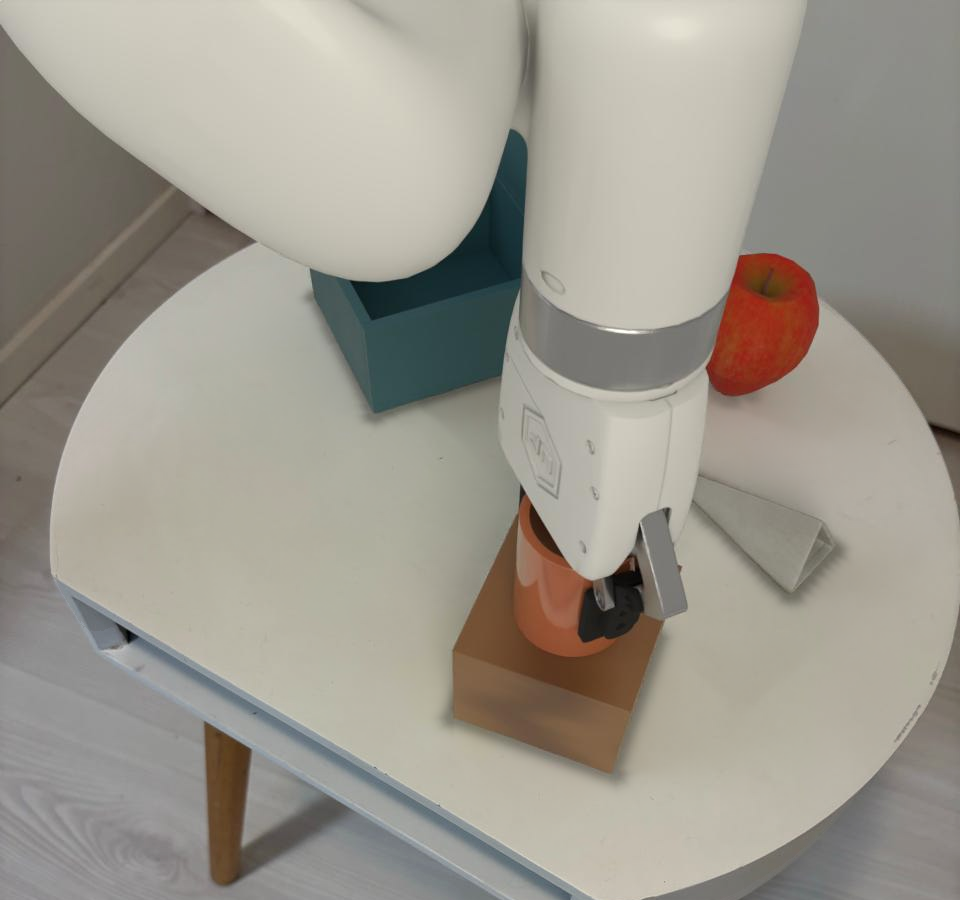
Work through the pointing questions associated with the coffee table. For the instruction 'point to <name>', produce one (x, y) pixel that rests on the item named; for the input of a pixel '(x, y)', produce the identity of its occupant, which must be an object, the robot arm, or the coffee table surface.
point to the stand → (546, 677)
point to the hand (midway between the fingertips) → (575, 574)
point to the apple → (763, 324)
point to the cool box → (433, 312)
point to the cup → (550, 590)
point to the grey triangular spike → (767, 531)
